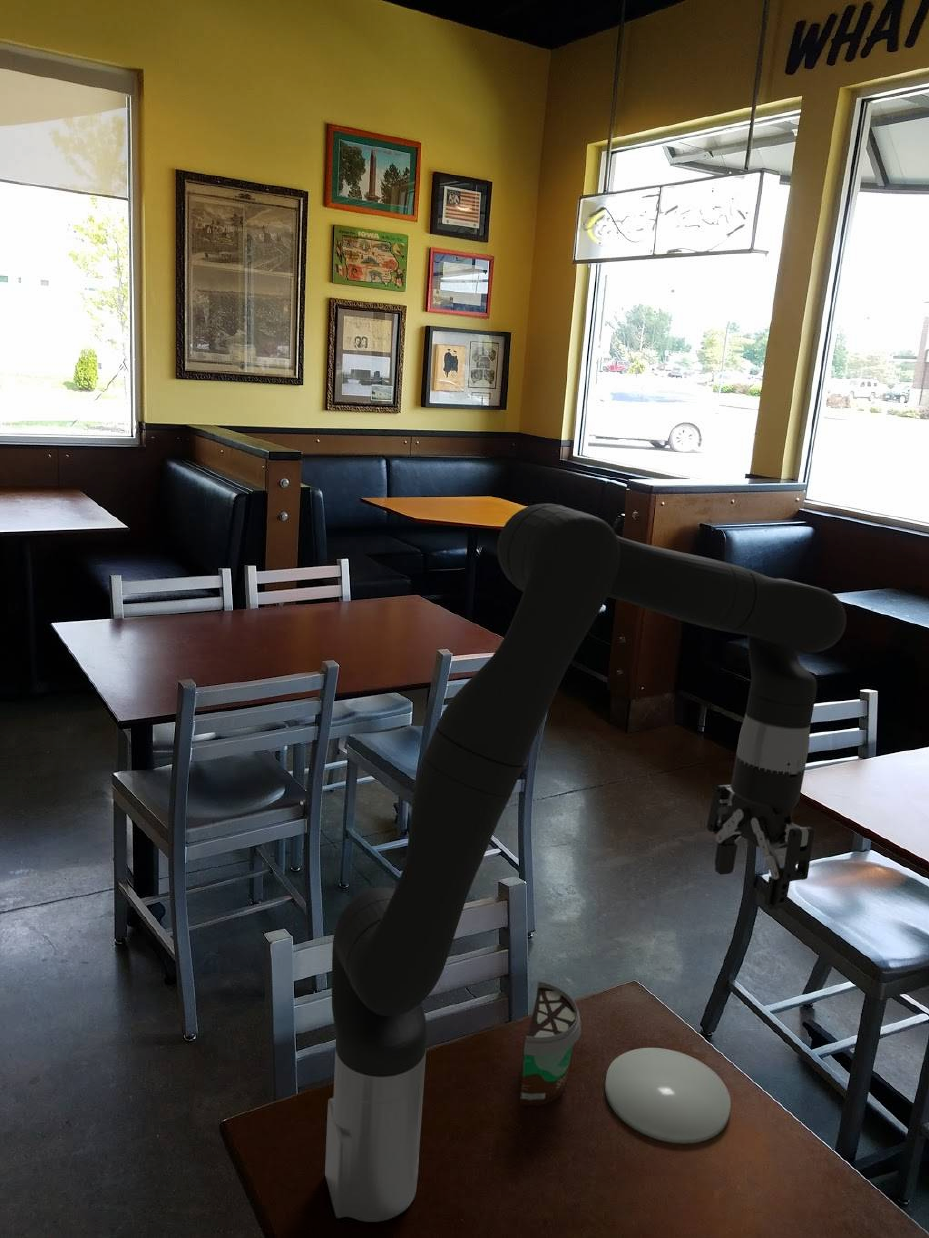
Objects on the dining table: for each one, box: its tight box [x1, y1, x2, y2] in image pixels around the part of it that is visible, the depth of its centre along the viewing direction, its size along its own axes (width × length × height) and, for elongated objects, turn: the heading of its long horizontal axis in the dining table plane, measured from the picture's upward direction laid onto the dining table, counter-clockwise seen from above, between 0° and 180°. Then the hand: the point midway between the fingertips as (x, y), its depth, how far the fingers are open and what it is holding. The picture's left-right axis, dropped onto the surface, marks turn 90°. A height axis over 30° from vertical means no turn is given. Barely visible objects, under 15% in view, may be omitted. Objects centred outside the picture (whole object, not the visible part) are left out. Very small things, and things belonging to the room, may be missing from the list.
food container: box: [519, 980, 582, 1106], centre depth 119 cm, size 12×6×10 cm, turn 168°
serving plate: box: [604, 1047, 732, 1145], centre depth 119 cm, size 15×15×1 cm
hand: (747, 889), depth 113 cm, fingers open, 8 cm apart
